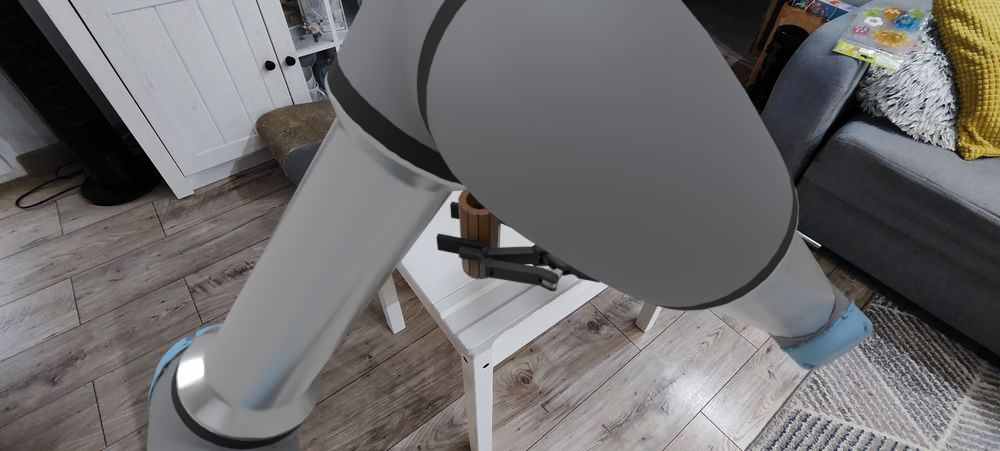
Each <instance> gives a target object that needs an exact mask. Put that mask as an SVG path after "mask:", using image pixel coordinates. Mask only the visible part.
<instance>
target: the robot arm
mask: <svg viewBox="0 0 1000 451" xmlns="http://www.w3.org/2000/svg"><path fill="white" fill-rule="evenodd" d="M357 4H358V6H359V9H358V11H357V13H356V15H355V17H354V18H353V21H352V23H351V25H350V27H349V29H348V31H347V33H346V35H345V37H344V40H343V41H342V43H341V45H340V46H339V49H338V51H337V52H336V54H335V56H334V58H333V60H332V62H331V65H330V66H329V69H328V70H327V72H326V74H325V77H324V87H325V91H326V94H327V96H328V99H329V101H330V104H331V106H332V108H333V110H334V113H335V119H333V120H334V121H333V122H332V124H331V125H330V127H329V129H328V131H327V133H326V134H325V136H324V138H323V141H322V142H321V144H320V146H319V148H318V149H317V151H316V153H315V155H314V156H313V158H312V160H311V162H310V164H309V166H308V168H307V169H306V171H305V173H304V175H303V177H302V179H301V180H300V183H299V184H298V186H297V188H296V190H295V192H294V193H293V194H292V197H291V199H290V201H289V202H288V204H287V206H286V208H285V210H284V211H283V213H282V215H281V217H280V219H279V220H278V223H277V224H276V226H275V228H274V230H273V232H272V234H271V235H270V237H269V239H268V241H267V243H265V246H264V248H263V250H262V252H261V253H260V256H259V257H258V259H257V260H256V263H255V264H254V266H253V268H252V269H251V272H250V274H249V275H248V277H247V279H246V281H245V283H244V285H243V287H242V288H241V290H240V292H239V293H238V296H237V297H236V299H235V301H234V303H233V305H232V307H231V308H230V310H229V312H228V314H227V315H226V317H225V320H224V321H223V323H217V324H213V325H209V326H206V327H204V328H201V329H198V330H197V331H196V333H195V337H193V336H185V337H183V338H182V339H181V340H179V341H177V342H176V343H175V344H174V345H172V346H171V347H170V348H169V349H168V351H167V352H166V353H165V354H163V356H162V358H161V359H160V360H159V362H158V364H157V367H156V369H155V371H154V375H153V380H152V381H151V384H150V388H149V392H148V397H147V398H148V399H147V405H148V406H147V407H148V413H149V415H148V426H147V427H148V428H147V444H146V451H301V448H300V447H301V446H300V439H299V438H300V437H299V430H300V427H301V426H302V424H303V423H304V422H305V421H306V419H307V418H308V417H309V415H310V414H311V413H312V411H313V410H314V408H315V407H316V405H317V402H318V400H319V398H320V395H321V392H322V385H323V379H322V371H321V370H322V369H323V368H324V367H325V365H326V363H327V362H328V361H329V359H330V358H331V357H332V356H333V354H334V353H335V352H336V350H337V349H338V348H339V346H340V344H342V342H343V341H344V339H345V338H346V337H347V336H348V334H349V333H350V331H351V330H352V329H353V327H354V326H355V324H356V323H357V322H358V321H359V319H360V318H361V316H362V315H363V313H364V312H365V311H366V310H367V308H368V307H369V305H370V304H371V303H372V302H373V300H374V299H375V298H376V296H377V295H378V293H379V292H380V291H381V289H382V288H383V287H384V285H385V284H386V282H388V280H389V279H390V277H391V276H392V274H393V273H394V272H395V270H396V269H397V268H398V267H399V265H400V263H401V262H402V261H403V260H404V258H405V257H406V256H407V254H408V253H409V251H410V250H411V249H412V247H413V246H414V245H415V243H416V242H417V241H418V239H419V238H420V237H421V235H422V234H423V233H424V231H425V230H426V228H427V227H428V226H429V224H430V223H431V221H432V220H433V219H434V218H435V216H436V215H437V214H438V212H439V211H440V210H441V208H442V207H443V205H444V204H445V203H446V201H447V200H448V199H449V197H450V196H451V195H452V193H453V192H459V191H461V192H462V191H463V190H468V191H469V192H470V193H471V194H472V195H473V196H474V197H475V198H476V199H477V201H478V202H479V203H481V204H482V205H483V206H484V207H485V208H487V209H488V210H489V211H490V212H491V213H492V214H494V215H495V216H496V217H497V218H498V219H499V220H501V225H504V226H506V227H508V228H511V229H512V230H513V231H515V232H516V233H517V234H519V235H521V236H522V237H523V238H525V239H526V240H527V241H529V242H531V243H533V245H530V246H500V247H496V248H487V244H485V245H484V242H480V241H475V240H470V239H465V238H460V236H453V235H448V234H443V233H437V235H436V247H437V250H438V251H440V252H444V253H445V252H446V253H451V254H456V255H458V258H460V259H461V260H462V259H465V260H470V261H475V262H480V263H481V264H482V265H483V269H484V276H486V277H488V279H496V280H502V281H508V282H512V283H513V282H514V283H519V284H527V285H533V286H539V287H540V288H543V289H545V290H547V291H549V292H556V291H557V289H558V284H559V282H560V280H561V279H562V277H564V276H571V275H573V276H574V277H576V279H579V280H583V281H589V282H594V283H598V284H600V283H602V284H603V285H606V286H608V287H610V288H611V289H614V290H616V291H618V292H620V293H622V294H625V295H627V296H629V297H631V298H633V299H637V300H639V301H642V302H645V303H649V304H651V305H654V306H656V307H659V308H663V309H667V310H671V311H679V312H701V311H708V310H715V311H718V312H720V313H722V314H724V315H726V316H729V317H731V318H733V319H736V320H737V321H739V322H742V323H745V324H746V325H749V326H751V327H754V328H755V329H759V330H760V331H763V332H765V333H766V334H768V335H769V336H770V337H771V338H772V340H773V341H774V342H775V343H776V344H777V345H778V347H779V349H780V350H781V351H782V353H786V354H787V355H788V356H789V358H791V359H792V360H793V361H794V362H795V363H796V364H797V365H798V366H799V367H800V368H801V369H802V370H806V371H816V370H818V369H821V368H823V367H825V366H827V365H829V364H831V363H833V362H834V361H836V360H838V359H840V358H841V357H842V356H844V355H846V354H847V353H849V352H851V351H852V350H854V349H855V348H856V347H858V346H859V345H860V344H861V343H863V342H865V340H867V339H868V338H869V337H870V336H871V334H872V333H873V330H874V326H873V323H872V321H871V319H869V317H868V316H866V315H865V314H864V312H863V311H861V310H860V308H859V307H857V305H856V302H854V301H853V300H852V299H850V298H849V297H848V296H846V295H845V294H844V293H842V292H841V291H840V290H839V289H838V288H837V286H835V285H834V284H833V283H832V281H831V280H830V279H829V278H828V276H827V275H826V274H825V272H824V270H823V269H822V267H821V266H820V264H819V263H818V261H817V260H816V258H815V256H814V254H813V253H812V251H811V250H810V248H809V247H808V245H807V244H806V242H805V241H804V239H803V237H802V236H801V235H800V233H799V232H798V230H797V229H798V226H799V225H798V224H799V214H800V213H799V210H800V204H799V198H798V190H797V189H796V185H795V182H794V180H793V177H792V174H791V172H790V170H789V168H788V166H787V165H786V163H785V160H784V159H783V157H782V155H781V152H780V150H779V149H778V146H777V145H776V143H775V141H774V140H773V138H772V136H771V134H770V132H769V131H768V129H767V127H766V125H765V123H764V121H763V119H762V118H761V116H760V115H759V113H758V111H757V109H756V106H754V104H753V102H752V100H751V99H750V98H751V97H749V95H748V93H747V92H746V90H745V88H744V87H743V86H742V84H741V82H740V81H739V79H738V78H737V76H736V74H735V73H734V72H733V70H732V68H731V66H730V65H729V64H728V62H727V60H726V59H725V57H724V56H723V54H722V52H721V51H720V50H719V48H718V47H717V45H716V44H715V42H714V40H713V39H712V37H711V36H710V34H709V33H708V31H707V30H706V29H705V27H704V26H703V25H702V24H701V23H700V22H699V20H698V19H697V18H696V16H694V14H693V13H692V11H691V10H690V9H689V8H688V7H687V5H686V4H685V3H684V2H683V0H357ZM449 208H450V218H451V219H455V220H459V204H458V201H451V203H450V204H449ZM544 267H548V268H544Z"/></svg>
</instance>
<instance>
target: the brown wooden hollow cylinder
mask: <svg viewBox="0 0 1000 451" xmlns="http://www.w3.org/2000/svg"><path fill="white" fill-rule="evenodd" d="M457 203H458V204H459V219H458V220H459V238H465V239H470V240H475V241H480V242H484V245H485V244H487V248H496V247H501V230H502V224H501V220H499V219H498V218H497V217H496V216H495V215H494V214H492V213H491V212H490V211H489V210H488V209H487V208H485V207H484V206H483V205H482V204H481V203H479V202H478V201H477V199H476V198H475V197H474V196H473V195H472V194H471V193H470V192H469V191H468V190H462V191H461V192H460V194H459V196H458V199H457ZM461 267H462V271H463V272H464V274H466V276H468V277H470V278H472V279H475V280H486V279H487V280H488V279H489V277H486V276H484V269H483V265H482V264H481V263H480V262H475V261H470V260H465V259H461Z"/></svg>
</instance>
